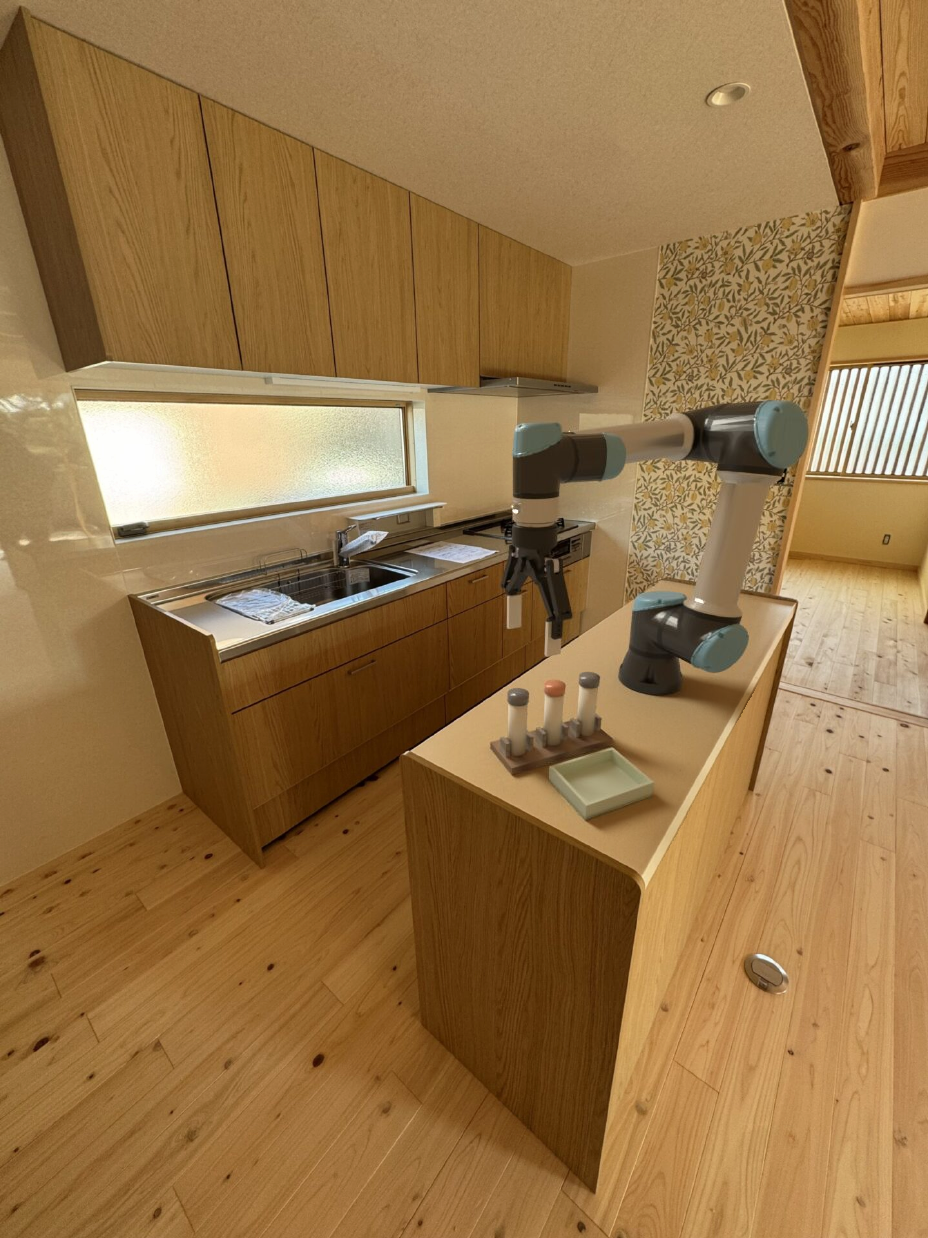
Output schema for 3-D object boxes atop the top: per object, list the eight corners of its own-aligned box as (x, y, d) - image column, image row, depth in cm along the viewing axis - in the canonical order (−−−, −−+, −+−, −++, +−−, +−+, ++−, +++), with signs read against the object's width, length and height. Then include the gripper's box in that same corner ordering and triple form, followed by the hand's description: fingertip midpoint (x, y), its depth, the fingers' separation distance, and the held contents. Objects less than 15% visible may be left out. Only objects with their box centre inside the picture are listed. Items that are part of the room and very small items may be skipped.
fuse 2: (587, 723, 105) (591, 670, 100) (598, 733, 102) (604, 678, 97) (571, 728, 104) (575, 674, 99) (582, 738, 100) (587, 682, 96)
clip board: (585, 722, 108) (586, 704, 107) (612, 744, 100) (614, 725, 99) (490, 748, 100) (490, 729, 98) (511, 775, 92) (512, 754, 90)
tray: (610, 760, 96) (612, 747, 95) (652, 796, 86) (654, 782, 85) (548, 780, 91) (549, 766, 90) (585, 820, 81) (586, 805, 80)
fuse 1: (520, 742, 99) (522, 686, 95) (530, 753, 96) (533, 695, 91) (502, 747, 98) (503, 690, 93) (512, 758, 94) (513, 700, 90)
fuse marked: (554, 732, 102) (558, 678, 98) (565, 743, 99) (569, 687, 94) (537, 737, 101) (540, 682, 96) (548, 748, 97) (551, 691, 93)
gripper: (482, 513, 92) (483, 621, 99) (557, 538, 70) (551, 673, 78) (518, 510, 94) (517, 614, 102) (601, 533, 73) (591, 663, 81)
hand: (532, 640), depth 90 cm, fingers open, 13 cm apart
